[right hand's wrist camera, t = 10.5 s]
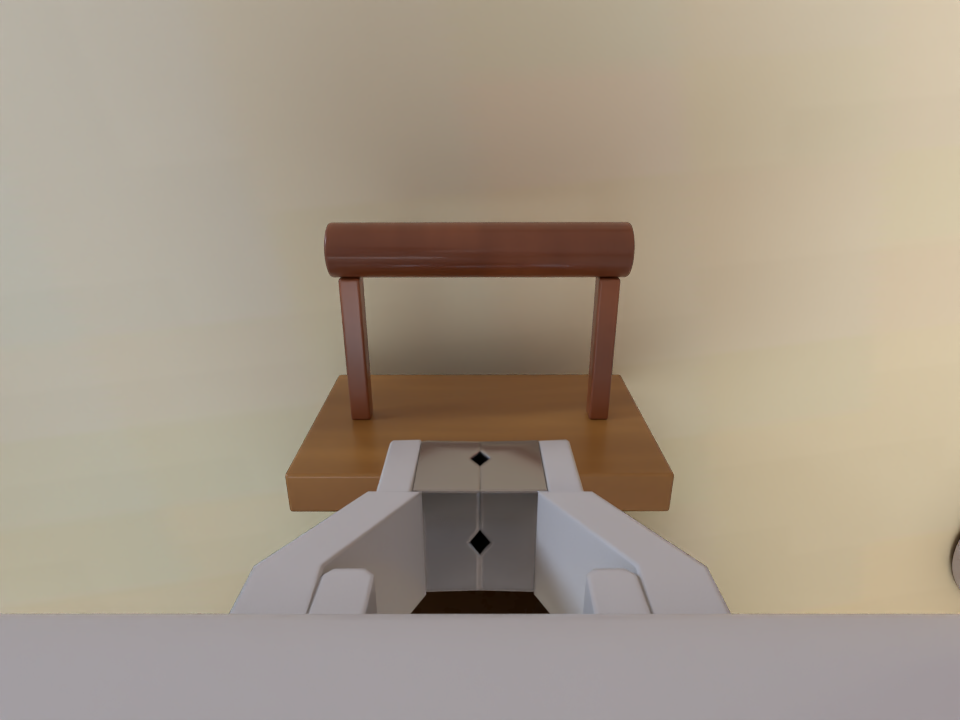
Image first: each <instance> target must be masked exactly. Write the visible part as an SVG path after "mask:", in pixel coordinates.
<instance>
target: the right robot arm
mask: <svg viewBox="0 0 960 720" xmlns="http://www.w3.org/2000/svg"><path fill="white" fill-rule="evenodd" d="M473 590H485V591H522V592H534V595H535V596H536V597H537V599H538V600H539V601H540V602H541V603H542V605H543V606H544V607H545V608H546V609H547V611H548V612H549V613H550V614H411V612H412V611H413V610H414V609H415V608H416V606H417V605H418V604H419V603H420V602H421V600H422V599H423V598H424V597H425V595H426V592H437V591H473ZM0 720H960V614H731V613H730V611H729V609H728V607H727V605H726V603H725V601H724V599H723V597H722V595H721V593H720V591H719V589H718V587H717V586H716V584H715V582H714V580H713V578H712V576H711V574H710V572H709V570H708V568H707V567H706V566H705V565H703V564H702V563H700V562H699V561H697V560H696V559H694V558H693V557H691V556H690V555H688V554H687V553H685V552H683V551H682V550H680V549H679V548H677V547H676V546H674V545H673V544H671V543H670V542H668V541H667V540H665V539H664V538H662V537H661V536H659V535H658V534H656V533H655V532H653V531H651V530H650V529H648V528H647V527H645V526H644V525H642V524H641V523H639V522H638V521H636V520H635V519H633V518H632V517H630V516H629V515H627V514H626V513H624V512H623V511H621V510H620V509H618V508H616V507H615V506H613V505H612V504H610V503H609V502H607V501H606V500H604V499H603V498H601V497H600V496H598V495H597V494H595V493H594V492H592V491H583V487H582V484H581V480H580V477H579V474H578V470H577V467H576V463H575V460H574V456H573V453H572V449H571V446H570V443H569V441H568V440H545V441H538V440H526V441H484V442H480V441H433V440H423V441H421V440H393V441H392V442H391V443H390V445H389V449H388V452H387V456H386V459H385V463H384V466H383V470H382V473H381V477H380V480H379V484H378V487H377V491H368V492H366V493H365V494H363V495H362V496H360V497H359V498H357V499H356V500H354V501H353V502H351V503H350V504H348V505H346V506H345V507H343V508H342V509H340V510H339V511H337V512H336V513H334V514H333V515H331V516H330V517H328V518H327V519H325V520H324V521H322V522H320V523H319V524H317V525H316V526H314V527H313V528H311V529H310V530H308V531H307V532H305V533H304V534H302V535H301V536H299V537H298V538H296V539H294V540H293V541H291V542H290V543H288V544H287V545H285V546H284V547H282V548H281V549H279V550H278V551H276V552H275V553H273V554H272V555H270V556H268V557H267V558H265V559H264V560H262V561H261V562H259V563H258V564H256V565H255V566H254V567H253V569H252V571H251V572H250V574H249V576H248V578H247V580H246V582H245V584H244V586H243V588H242V590H241V592H240V594H239V596H238V597H237V599H236V601H235V603H234V605H233V607H232V609H231V611H230V613H229V614H0Z"/></svg>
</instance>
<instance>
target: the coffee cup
mask: <svg viewBox="0 0 960 720" xmlns="http://www.w3.org/2000/svg"><path fill="white" fill-rule="evenodd" d="M952 571H953V576H954V580H955V582H956V584H957V586H958V587H959V589H960V540H959V542H958V544H957V546H956V549H955V552H954V556H953V561H952Z"/></svg>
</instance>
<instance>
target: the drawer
mask: <svg viewBox="0 0 960 720" xmlns="http://www.w3.org/2000/svg"><path fill="white" fill-rule="evenodd" d="M634 249H635V242H634V232H633V228H632V226H631V224H630V223H628V222H374V223H329V224H328V225H327V228H326V231H325V237H324V254H325V262H326V266H327V270H328V272H329V274H330V276H332V277H341V278H340V279H339V292H340V302H341V313H342V324H343V335H344V345H345V356H346V367H347V375H340V376H339V377H338V379H337V380H336V382H335V384H334V386H333V388H332V390H331V391H330V393H329V395H328V397H327V399H326V401H325V403H324V404H323V406H322V408H321V410H320V412H319V414H318V416H317V417H316V419H315V421H314V423H313V425H312V427H311V428H310V430H309V432H308V434H307V436H306V438H305V440H304V441H303V443H302V445H301V447H300V449H299V451H298V453H297V454H296V456H295V458H294V460H293V462H292V464H291V465H290V467H289V469H288V471H287V473H286V475H285V478H286V484H287V491H288V498H289V505H290V510H291V511H339V510H340V509H342V508H343V507H345V506H346V505H348V504H350V503H351V502H353V501H354V500H356V499H357V498H359V497H360V496H362V495H363V494H365V493H366V492H368V491H377V487H378V484H379V480H380V477H381V473H382V470H383V466H384V463H385V459H386V456H387V452H388V449H389V445H390V443H391V442H392V441H393V440H421V441H423V440H433V441H480V442H484V441H526V440H538V441H545V440H568V441H569V443H570V446H571V449H572V453H573V456H574V460H575V463H576V467H577V470H578V474H579V477H580V480H581V484H582V487H583V491H592V492H594V493H595V494H597V495H598V496H600V497H601V498H603V499H604V500H606V501H607V502H609V503H610V504H612V505H613V506H615V507H616V508H618V509H620V510H621V511H668V510H669V506H670V499H671V492H672V485H673V478H674V474H673V472H672V470H671V469H670V467H669V465H668V463H667V461H666V459H665V457H664V456H663V454H662V452H661V450H660V448H659V446H658V444H657V443H656V441H655V439H654V437H653V435H652V433H651V431H650V430H649V428H648V426H647V424H646V422H645V420H644V418H643V417H642V415H641V413H640V411H639V409H638V407H637V405H636V404H635V402H634V400H633V398H632V396H631V394H630V392H629V391H628V389H627V387H626V385H625V383H624V381H623V379H622V378H621V376H620V375H612V367H613V356H614V345H615V334H616V323H617V312H618V301H619V290H620V279H619V278H618V277H626V276H628V275H629V274H630V271H631V269H632V265H633V260H634ZM363 277H596V284H595V297H594V311H593V324H592V338H591V351H590V364H589V375H370V363H369V351H368V338H367V325H366V312H365V299H364V286H363ZM411 614H550V613H549V612H548V611H547V609H546V608H545V607H544V606H543V605H542V603H541V602H540V601H539V600H538V599H537V597H536V596H535V595H534V592H522V591H485V590H473V591H437V592H426V595H425V597H424V598H423V599H422V600H421V602H420V603H419V604H418V605H417V606H416V608H415V609H414V610H413V611H412V612H411Z"/></svg>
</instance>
